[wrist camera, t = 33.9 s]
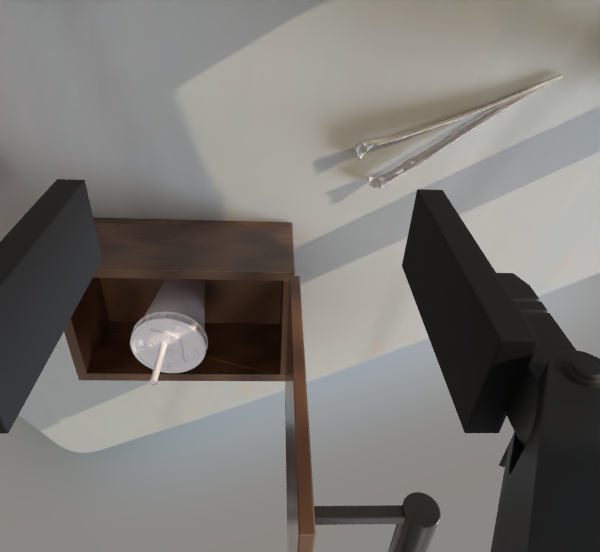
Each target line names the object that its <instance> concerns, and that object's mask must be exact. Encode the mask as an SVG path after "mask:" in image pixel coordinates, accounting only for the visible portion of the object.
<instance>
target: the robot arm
mask: <svg viewBox="0 0 600 552" xmlns="http://www.w3.org/2000/svg"><path fill="white" fill-rule="evenodd" d="M101 262H102V256H101V252H100V247H99V243H98V238H97V234H96V229H95V225H94V220H93V216H92V211H91V207H90V202H89V198H88V193H87V189H86V184H85V180H65V179H57V180H56V181H55V182H54V184H53V185H52V186H51V187H50V188H49V189H48V190H47V191H46V192H45V193H44V195H43V196H42V197H41V198H40V199H39V200H38V201H37V202H36V203H35V204H34V206H33V207H32V208H31V209H30V210H29V211H28V212H27V213H26V214H25V215H24V216H23V218H22V219H21V220H20V221H19V222H18V223H17V224H16V225H15V226H14V227H13V229H12V230H11V231H10V232H9V233H8V234H7V235H6V236H5V237H4V238H3V240H2V241H1V242H0V433H8V432H9V431H10V429H11V427H12V425H13V423H14V421H15V420H16V418H17V416H18V414H19V412H20V410H21V409H22V407H23V405H24V403H25V401H26V399H27V398H28V396H29V394H30V392H31V390H32V388H33V387H34V385H35V383H36V381H37V379H38V377H39V376H40V374H41V372H42V370H43V368H44V366H45V365H46V363H47V361H48V359H49V357H50V355H51V354H52V352H53V350H54V348H55V346H56V344H57V342H58V341H59V339H60V337H61V335H62V333H63V331H64V330H65V328H66V326H67V324H68V322H69V320H70V319H71V317H72V315H73V313H74V311H75V309H76V308H77V306H78V304H79V302H80V300H81V298H82V297H83V295H84V293H85V291H86V289H87V287H88V286H89V284H90V282H91V280H92V278H93V276H94V274H95V273H96V271H97V269H98V267H99V265H100V263H101ZM402 267H403V270H404V272H405V275H406V278H407V280H408V283H409V286H410V288H411V291H412V294H413V296H414V299H415V301H416V304H417V307H418V309H419V312H420V315H421V317H422V320H423V323H424V325H425V328H426V331H427V333H428V336H429V339H430V341H431V344H432V346H433V349H434V352H435V354H436V357H437V360H438V363H439V365H440V368H441V371H442V373H443V376H444V379H445V381H446V384H447V387H448V389H449V392H450V395H451V397H452V400H453V403H454V405H455V408H456V411H457V413H458V416H459V419H460V421H461V424H462V427H463V429H464V432H465V433H499V431H500V429H501V427H502V424H503V422H504V420H505V418H506V415H507V416H508V418H509V421H510V423H511V425H512V427H513V429H514V431H515V432H514V434H513V437H512V439H511V441H510V443H509V445H508V447H507V449H506V451H505V454H504V456H503V458H502V460H501V462H500V464H499V465H500V466H502V467H505V472H504V477H503V483H502V489H501V495H500V500H499V506H498V512H497V518H496V524H495V530H494V536H493V541H492V547H491V552H600V359H599V358H597V357H594V356H593V355H590V354H588V353H585V352H581V351H577V350H576V349H575V348H574V347H573V345H572V344H571V342H570V341H569V340H568V338H567V337H566V336H565V334H564V333H563V331H562V330H561V329H560V327H559V326H558V324H557V323H556V322H555V321H554V319H553V317H552V316H551V315H550V313H547V309H546V308H545V306H544V305H543V304H542V302H539V298H538V297H537V295H536V294H535V292H534V291H533V290H532V288H531V287H530V285H528V284H527V283H525V282H524V281H523V280H521V279H520V278H519V277H517V276H516V275H515V274H513V273H496V272H495V271H494V269H493V267H492V266H491V264H490V263H489V261H488V260H487V258H486V257H485V255H484V254H483V252H482V250H481V249H480V247H479V246H478V244H477V243H476V241H475V240H474V238H473V237H472V235H471V233H470V232H469V230H468V229H467V227H466V226H465V224H464V223H463V221H462V220H461V218H460V216H459V215H458V213H457V212H456V210H455V209H454V207H453V206H452V204H451V203H450V201H449V199H448V198H447V196H446V195H445V193H444V192H443V190H420V189H417V194H416V199H415V204H414V209H413V214H412V219H411V224H410V229H409V234H408V239H407V244H406V249H405V254H404V259H403V264H402Z"/></svg>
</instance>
